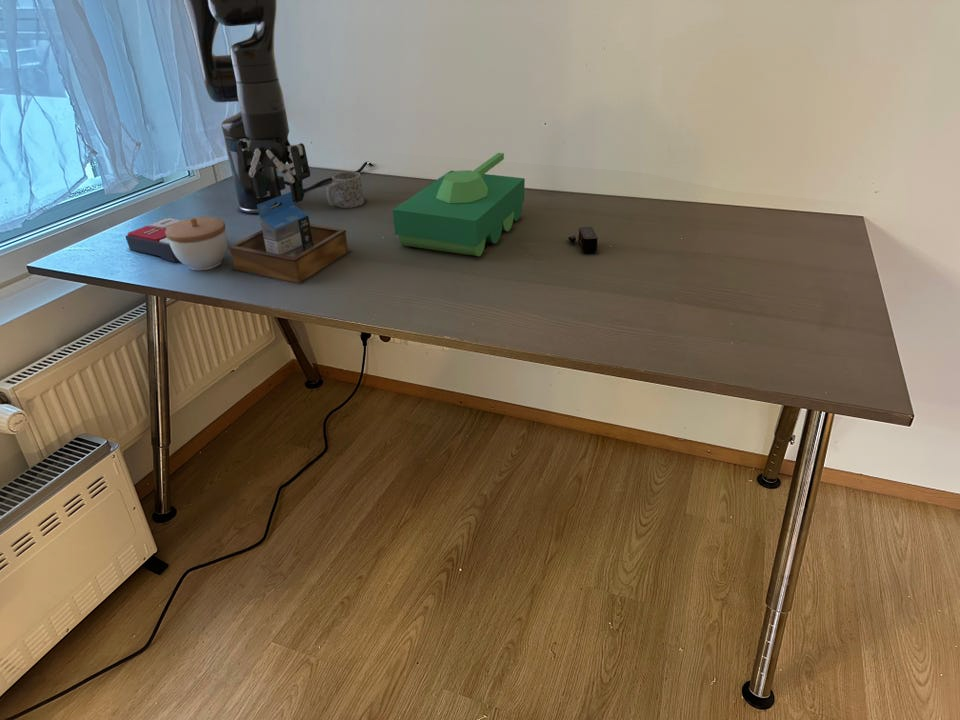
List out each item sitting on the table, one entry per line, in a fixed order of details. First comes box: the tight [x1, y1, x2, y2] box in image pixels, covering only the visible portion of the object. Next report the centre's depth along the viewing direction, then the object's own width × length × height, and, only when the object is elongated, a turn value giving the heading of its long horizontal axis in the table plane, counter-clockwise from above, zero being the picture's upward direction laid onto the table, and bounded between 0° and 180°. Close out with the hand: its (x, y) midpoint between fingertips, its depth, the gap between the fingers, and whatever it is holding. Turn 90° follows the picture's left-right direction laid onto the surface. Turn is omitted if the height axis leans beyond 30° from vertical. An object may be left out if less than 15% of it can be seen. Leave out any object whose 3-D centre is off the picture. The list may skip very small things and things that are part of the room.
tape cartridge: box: [257, 191, 313, 257], centre depth 127 cm, size 9×4×12 cm, turn 148°
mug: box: [325, 170, 365, 209], centre depth 156 cm, size 10×7×7 cm
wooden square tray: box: [227, 223, 349, 284], centre depth 129 cm, size 16×16×5 cm
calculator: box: [124, 217, 182, 263], centre depth 137 cm, size 11×4×15 cm
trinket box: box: [165, 216, 229, 271], centre depth 128 cm, size 11×11×9 cm
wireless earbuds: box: [567, 226, 599, 255], centre depth 131 cm, size 5×7×3 cm, turn 2°
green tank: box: [392, 152, 526, 257], centre depth 141 cm, size 18×12×35 cm
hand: (280, 198), depth 124 cm, fingers open, 8 cm apart
